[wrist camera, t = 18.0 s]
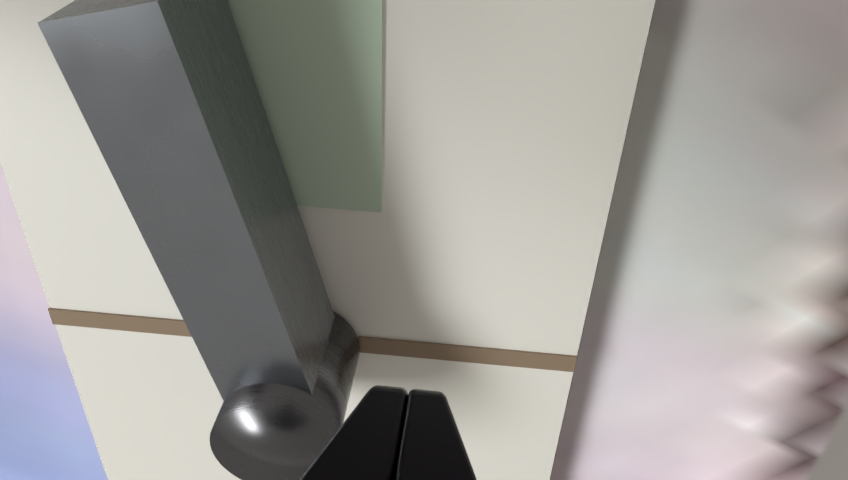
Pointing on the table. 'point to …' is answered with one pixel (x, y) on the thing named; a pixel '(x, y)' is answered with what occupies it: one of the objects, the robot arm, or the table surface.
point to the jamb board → (357, 212)
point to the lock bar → (214, 218)
